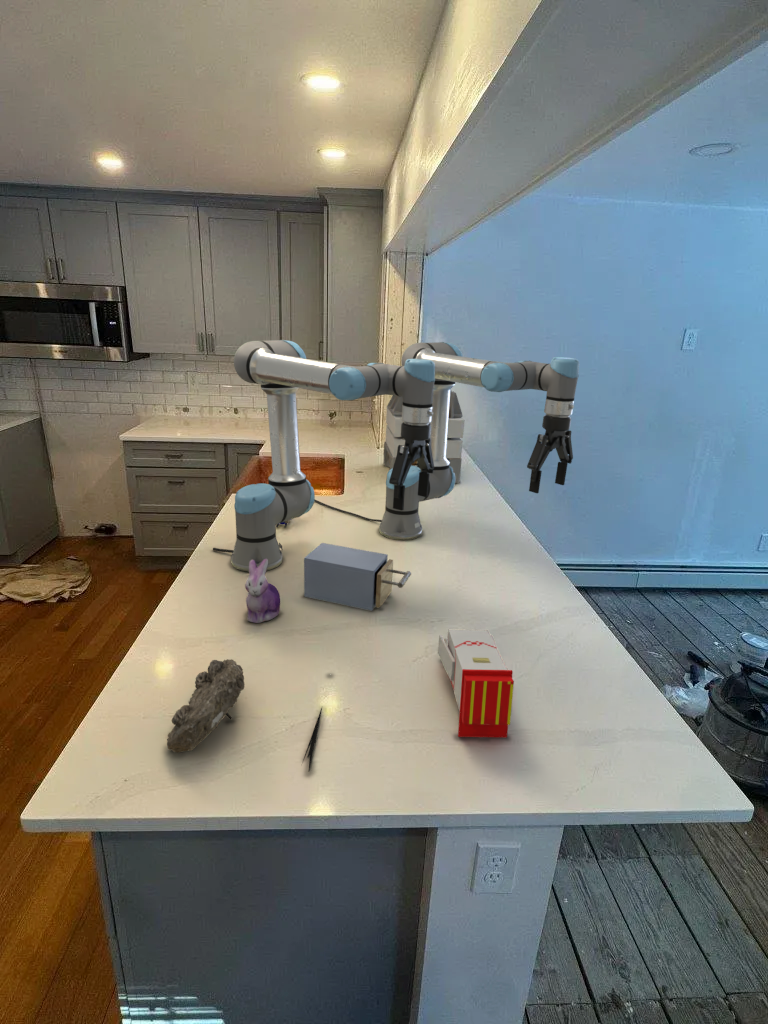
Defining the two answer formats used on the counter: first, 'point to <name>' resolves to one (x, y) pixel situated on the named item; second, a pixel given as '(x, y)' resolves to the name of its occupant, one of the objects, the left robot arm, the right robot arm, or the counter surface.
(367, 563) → the cabinet
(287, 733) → the counter surface
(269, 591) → the figurine
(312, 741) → the feather
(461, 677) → the toy
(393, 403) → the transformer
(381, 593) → the drawer
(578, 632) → the counter surface
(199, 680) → the fossil
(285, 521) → the figurine character
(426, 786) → the counter surface
